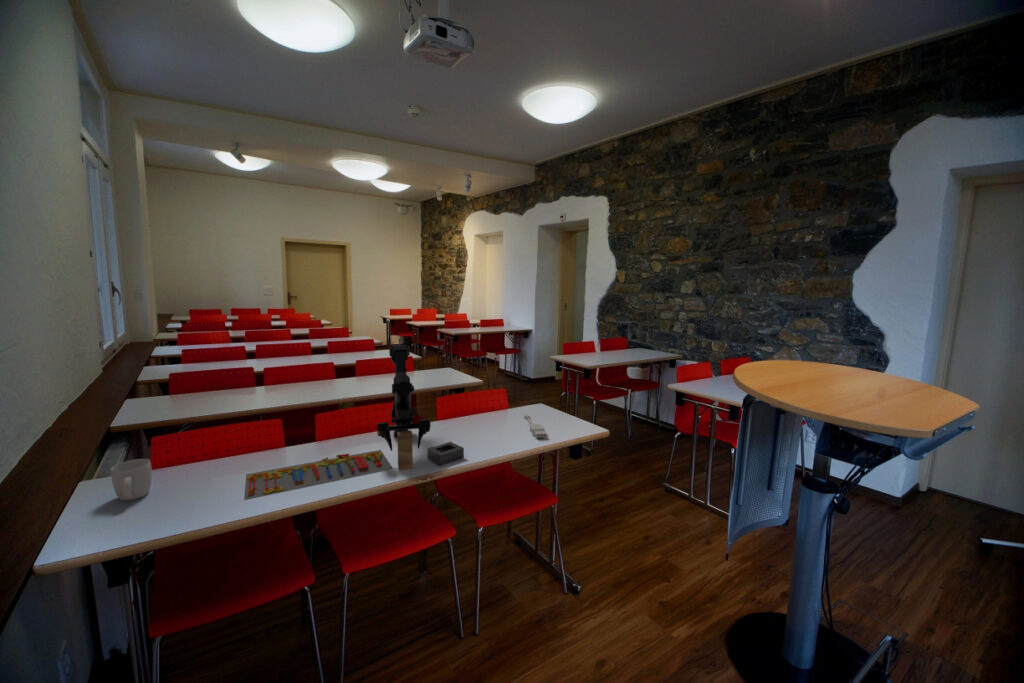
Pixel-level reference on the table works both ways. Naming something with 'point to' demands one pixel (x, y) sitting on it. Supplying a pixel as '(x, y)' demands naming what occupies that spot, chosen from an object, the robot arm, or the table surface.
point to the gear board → (314, 473)
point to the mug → (132, 479)
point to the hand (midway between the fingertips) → (405, 449)
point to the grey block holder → (445, 453)
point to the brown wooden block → (405, 450)
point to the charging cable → (535, 428)
